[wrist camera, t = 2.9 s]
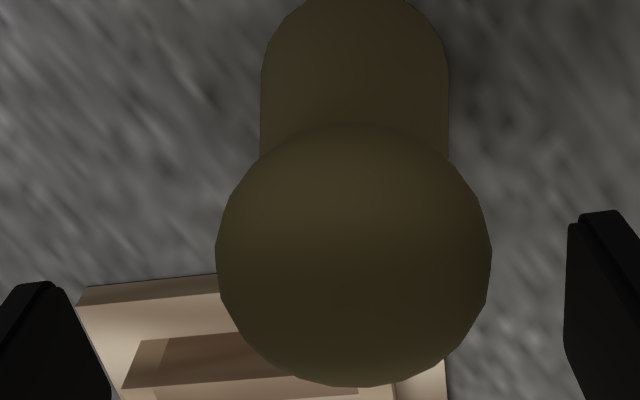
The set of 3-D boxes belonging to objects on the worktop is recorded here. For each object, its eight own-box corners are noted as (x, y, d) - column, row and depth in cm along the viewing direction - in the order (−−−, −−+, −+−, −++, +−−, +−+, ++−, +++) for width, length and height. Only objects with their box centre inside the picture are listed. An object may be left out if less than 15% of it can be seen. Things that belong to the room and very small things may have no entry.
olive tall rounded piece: (441, -30, 18) (536, 134, 8) (455, 153, 21) (535, 424, 11) (240, 6, 18) (119, 191, 9) (282, 177, 21) (225, 447, 12)
